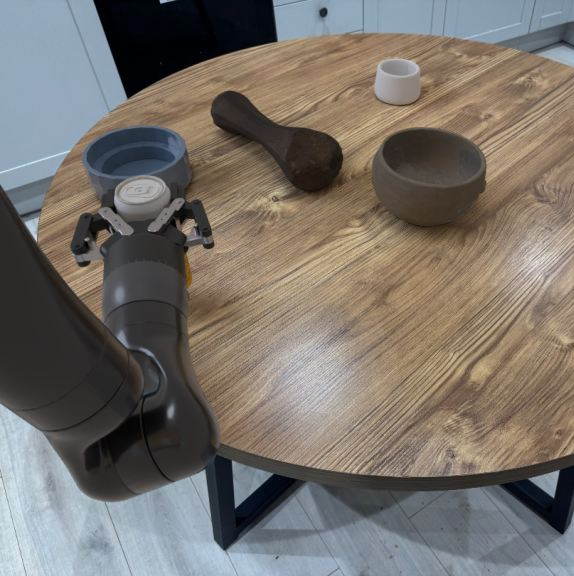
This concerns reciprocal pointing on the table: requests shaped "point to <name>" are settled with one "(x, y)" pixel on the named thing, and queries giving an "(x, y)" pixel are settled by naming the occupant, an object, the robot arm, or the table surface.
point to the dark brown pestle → (282, 142)
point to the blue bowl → (136, 157)
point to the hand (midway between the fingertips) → (144, 191)
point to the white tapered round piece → (397, 81)
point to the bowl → (428, 175)
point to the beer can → (144, 203)
